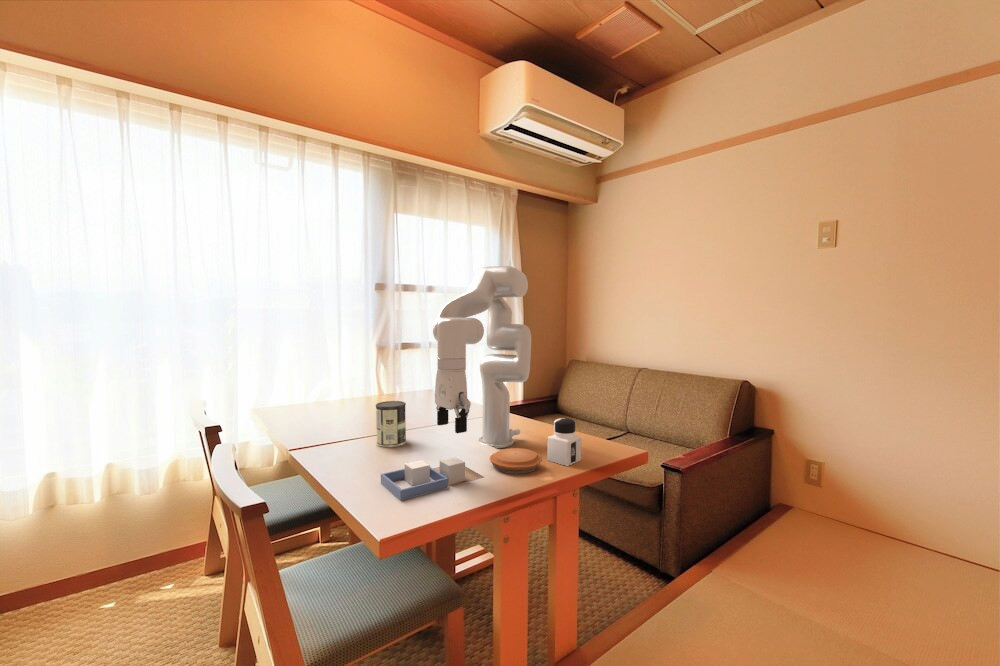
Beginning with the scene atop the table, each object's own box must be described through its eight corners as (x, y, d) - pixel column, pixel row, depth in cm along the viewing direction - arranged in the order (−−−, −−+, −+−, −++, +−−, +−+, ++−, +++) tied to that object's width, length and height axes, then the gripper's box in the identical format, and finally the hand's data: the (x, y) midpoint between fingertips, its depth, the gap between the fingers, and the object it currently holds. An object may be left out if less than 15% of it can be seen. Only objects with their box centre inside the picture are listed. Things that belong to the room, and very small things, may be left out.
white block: (421, 477, 118) (421, 459, 118) (429, 483, 114) (429, 465, 114) (404, 481, 115) (404, 463, 115) (412, 487, 111) (412, 469, 111)
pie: (479, 467, 128) (479, 451, 127) (519, 457, 137) (519, 442, 137) (511, 484, 115) (511, 466, 115) (552, 471, 125) (553, 454, 124)
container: (581, 460, 134) (582, 419, 133) (567, 466, 128) (568, 424, 128) (561, 454, 139) (561, 415, 139) (546, 460, 134) (547, 419, 133)
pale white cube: (455, 474, 119) (455, 456, 119) (465, 480, 115) (465, 462, 114) (439, 478, 116) (439, 460, 116) (448, 484, 112) (448, 465, 112)
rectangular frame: (425, 476, 121) (425, 463, 120) (448, 492, 110) (448, 478, 110) (380, 487, 113) (380, 474, 113) (400, 505, 102) (400, 490, 102)
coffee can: (399, 437, 159) (399, 399, 158) (410, 444, 150) (410, 404, 150) (371, 441, 153) (371, 402, 152) (382, 449, 144) (381, 408, 144)
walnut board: (458, 466, 128) (458, 462, 128) (484, 481, 117) (484, 476, 117) (424, 474, 122) (424, 470, 122) (448, 490, 111) (449, 486, 111)
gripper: (424, 362, 119) (424, 423, 119) (455, 368, 105) (455, 438, 105) (448, 361, 123) (448, 420, 124) (481, 366, 109) (481, 433, 110)
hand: (451, 428), depth 114 cm, fingers open, 9 cm apart
